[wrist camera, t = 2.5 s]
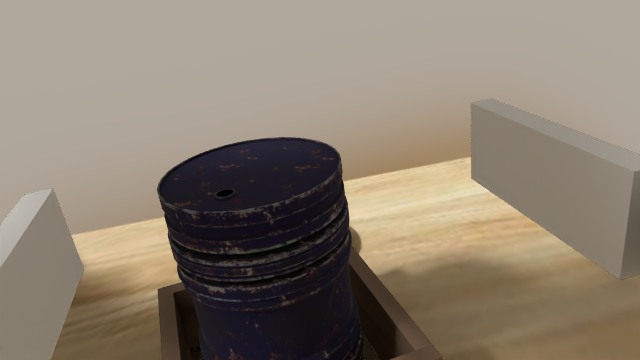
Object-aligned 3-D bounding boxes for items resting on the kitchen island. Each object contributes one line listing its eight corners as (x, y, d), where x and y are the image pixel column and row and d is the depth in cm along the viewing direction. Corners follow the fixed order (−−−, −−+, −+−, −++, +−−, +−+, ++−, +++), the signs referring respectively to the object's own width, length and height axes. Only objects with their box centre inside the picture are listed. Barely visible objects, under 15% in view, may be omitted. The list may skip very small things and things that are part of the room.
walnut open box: (193, 528, 24) (168, 459, 22) (174, 344, 36) (157, 289, 34) (444, 424, 28) (442, 356, 26) (349, 288, 40) (343, 235, 38)
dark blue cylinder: (255, 319, 38) (215, 136, 32) (380, 335, 35) (362, 135, 29) (184, 430, 29) (112, 209, 23) (343, 465, 26) (306, 219, 20)
